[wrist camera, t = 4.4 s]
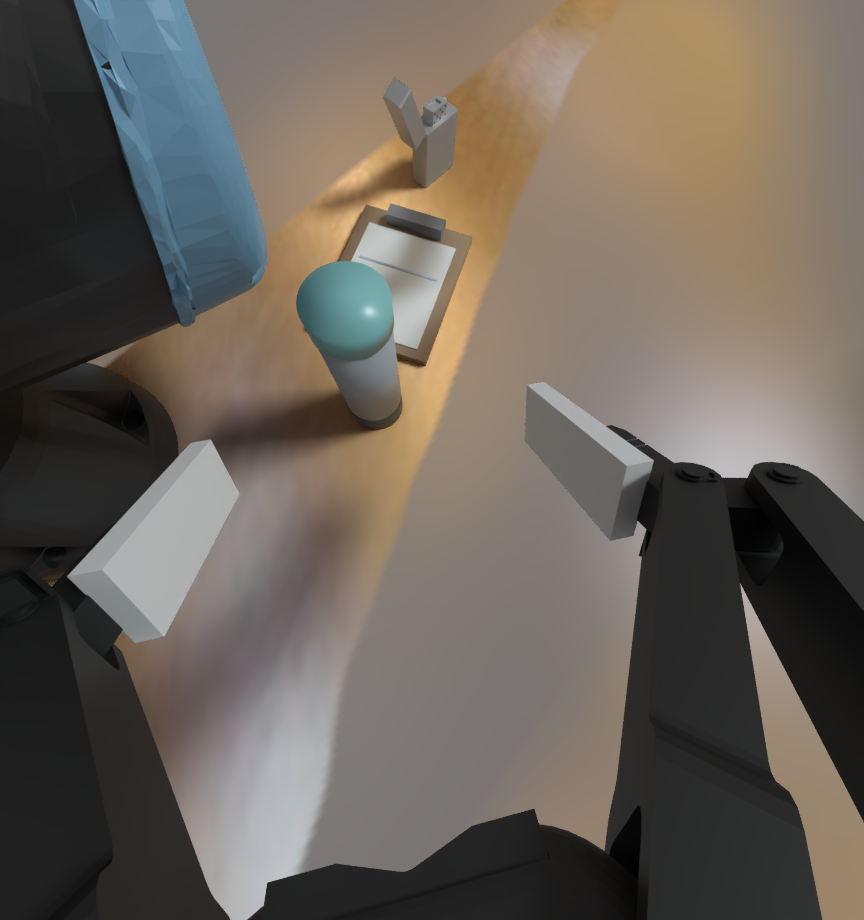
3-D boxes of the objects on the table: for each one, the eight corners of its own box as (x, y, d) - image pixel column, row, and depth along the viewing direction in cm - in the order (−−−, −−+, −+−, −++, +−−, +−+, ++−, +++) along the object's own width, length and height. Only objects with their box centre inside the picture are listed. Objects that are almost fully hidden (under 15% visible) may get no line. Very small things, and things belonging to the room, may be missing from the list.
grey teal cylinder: (341, 421, 26) (280, 325, 15) (361, 374, 27) (318, 250, 16) (392, 437, 26) (371, 354, 15) (411, 390, 27) (404, 276, 16)
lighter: (440, 154, 33) (446, 36, 25) (454, 164, 33) (464, 47, 25) (390, 196, 32) (380, 84, 24) (404, 206, 31) (399, 96, 24)
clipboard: (310, 329, 28) (304, 316, 27) (367, 210, 31) (364, 193, 30) (425, 365, 28) (425, 355, 26) (471, 242, 31) (474, 226, 29)
